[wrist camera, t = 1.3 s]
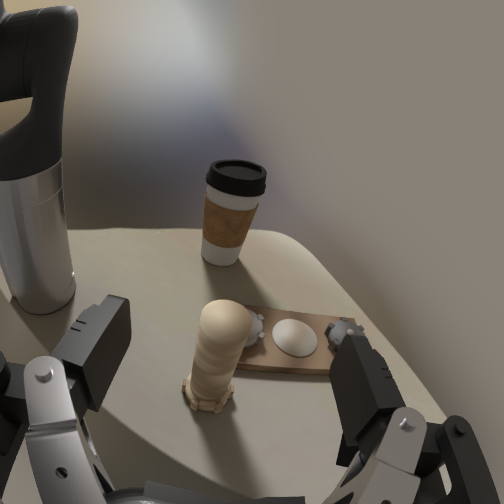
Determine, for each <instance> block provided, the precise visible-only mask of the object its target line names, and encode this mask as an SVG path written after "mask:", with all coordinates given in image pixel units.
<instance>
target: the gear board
mask: <svg viewBox="0 0 504 504" xmlns="http://www.w3.org/2000/svg"><path fill="white" fill-rule="evenodd" d="M240 305H242V306H243V307H245V308H246V309H247V310H248V312H249V313H250V315H251V317H252V327H251V330H250V332H249V335H248V338H247V340H246V343H245V345H244V348H243V351H242V353H241V356H240V358H239V361H238V363H237V366H236V368H237V369H246V370H256V371H267V372H280V373H297V374H324V375H329V371H330V366H331V363H332V361H333V359H334V357H335V355H336V353H337V350H338V348H339V346H340V344H341V342H342V340H343V338H344V336H345V335H360V336H365V334H364V332H363V330H364V328H363V327H362V326H361V325H360V326H357V325H356V322H355V319H354V318H345V317H335V316H326V315H317V314H308V313H300V312H292V311H285V310H277V309H270V308H263V307H256V306H250V305H244V304H240Z"/></svg>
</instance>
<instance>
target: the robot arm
mask: <svg viewBox="0 0 504 504" xmlns="http://www.w3.org/2000/svg"><path fill="white" fill-rule="evenodd" d="M77 31H78V15H77V12H76V10H75V9H74V8H73V7H71V6H56V7H49V8H41V9H35V10H29V11H24V12H19V13H14V14H9V13H7V12H6V11H5V8H4V4H3V0H0V102H5V101H10V100H16V99H22V98H28V97H33V100H32V105H31V110H30V112H29V114H28V115H27V116H26V117H25V118H24V119H23V120H22V121H21V122H19V123H18V124H17V125H16V126H14V127H13V128H11V129H9V130H8V131H6V132H4V133H3V134H1V135H0V264H1V267H2V270H3V273H4V276H5V279H6V282H7V284H8V287H9V290H10V292H11V295H12V296H13V297H16V298H17V300H18V302H19V304H20V306H21V307H22V308H23V309H24V310H26V311H28V312H30V313H33V314H47V313H51V312H54V311H56V310H59V309H60V308H62V307H63V306H65V305H66V304H67V303H68V302H69V301H70V299H71V298H72V296H73V294H74V292H75V287H76V284H75V277H74V272H73V267H72V261H71V255H70V249H69V242H68V235H67V228H66V219H65V209H64V197H63V181H62V122H63V108H64V99H65V92H66V85H67V80H68V75H69V70H70V65H71V61H72V56H73V52H74V47H75V43H76V37H77ZM130 341H131V319H130V303H129V300H128V299H126V298H122V297H118V296H114V295H110V294H109V295H107V296H106V298H105V299H104V300H103V302H102V303H101V304H100V306H98V305H95V304H94V305H92V306H91V307H89V308H87V309H86V310H84V311H83V312H82V313H81V314H80V316H79V317H78V318H77V319H76V322H74V323H73V325H72V326H71V328H70V329H69V330H68V331H67V332H66V334H65V335H64V336H63V338H62V339H61V340H60V342H59V343H58V344H57V346H56V347H55V348H54V350H53V351H52V353H51V354H50V355H49V356H40V357H36V358H34V359H33V360H31V361H30V362H29V363H28V364H27V365H21V364H15V363H9V362H6V360H5V357H4V355H3V353H2V352H1V351H0V504H3V502H2V500H1V499H2V496H3V492H4V489H5V486H6V483H7V480H8V477H9V474H10V472H11V469H12V466H13V464H14V461H15V459H16V456H17V454H18V451H19V449H20V446H21V444H22V441H23V439H24V437H25V438H26V445H27V449H28V454H29V458H30V462H31V466H32V470H33V474H34V477H35V481H36V484H37V487H38V490H39V494H40V496H41V499H42V502H43V504H305V496H301V497H265V498H260V499H254V500H248V501H242V502H234V503H223V502H220V501H216V500H214V499H211V498H208V497H205V496H202V495H199V494H197V493H194V492H191V491H189V490H186V489H183V488H178V487H172V486H168V485H164V484H159V483H155V482H151V481H146V484H145V487H132V488H123V489H119V490H115V489H114V487H113V485H112V483H111V481H110V479H109V477H108V475H107V473H106V471H105V470H104V468H103V466H102V464H101V461H100V459H99V456H98V454H97V452H96V449H95V447H94V444H93V441H92V438H91V436H90V433H89V430H88V427H87V424H86V421H85V418H84V415H85V413H86V411H87V409H90V410H93V411H96V412H98V411H99V408H100V406H101V404H102V402H103V399H104V397H105V395H106V393H107V391H108V389H109V386H110V384H111V382H112V380H113V378H114V376H115V374H116V372H117V370H118V367H119V365H120V363H121V361H122V359H123V357H124V355H125V353H126V351H127V349H128V347H129V344H130ZM388 369H389V368H388V366H387V364H386V362H385V360H384V358H383V357H382V356H381V355H380V354H379V353H378V352H377V351H376V350H375V349H372V347H371V345H370V343H369V341H368V339H367V337H366V336H360V335H345V336H344V338H343V340H342V342H341V344H340V346H339V348H338V350H337V353H336V355H335V357H334V359H333V361H332V363H331V366H330V371H329V376H330V381H331V385H332V389H333V393H334V397H335V400H336V404H337V408H338V412H339V417H340V421H341V425H342V429H343V433H344V437H345V442H346V446H357V445H358V447H359V451H358V452H357V453H356V455H355V457H354V458H353V460H352V462H351V464H350V465H349V467H348V469H347V470H346V472H345V474H344V475H343V477H342V479H341V480H340V482H339V483H338V485H337V487H336V488H335V490H334V491H333V492H332V493H331V495H330V496H329V497H328V498H327V499H326V500H325V501H324V502H323V503H322V504H500V501H499V498H498V494H497V491H496V488H495V485H494V482H493V480H492V477H491V474H490V471H489V469H488V466H487V463H486V461H485V458H484V456H483V453H482V451H481V449H480V446H479V444H478V442H477V439H476V437H475V434H474V432H473V430H472V428H471V426H470V424H469V423H468V422H467V420H465V419H464V418H462V417H460V416H456V415H454V416H450V417H449V418H447V420H446V421H445V422H444V423H443V424H436V423H429V422H426V421H425V419H424V417H423V416H422V414H421V413H420V412H418V411H417V410H415V409H413V408H410V407H406V405H405V403H404V400H403V398H402V396H401V394H400V392H399V389H398V387H397V385H396V383H395V381H394V378H392V374H391V372H390V370H388ZM29 426H30V430H28V428H29ZM444 464H446V467H447V471H448V474H449V477H450V480H451V484H452V488H451V491H450V493H449V494H448V495H446V491H445V488H444V484H443V481H442V478H441V474H440V471H439V468H440V467H441V466H442V465H444Z"/></svg>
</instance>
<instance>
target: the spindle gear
mask: <svg viewBox="0 0 504 504" xmlns="http://www.w3.org/2000/svg"><path fill="white" fill-rule="evenodd" d="M251 327H252V317H251V315H250V313H249V312H248V310H247V309H246V308H245V307H243V306H242V305H240V304H238V303H236V302H234V301H230V300H215V301H212V302H210V303H208V304H207V305H206V306H205V307H204V308H203V310H202V313H201V319H200V324H199V330H198V336H197V342H196V348H195V355H194V361H193V367H192V372H191V373H190V374H189V376H188V377H187V379H183V385H182V392H185V395H186V398H187V400H188V402H189V403H190V408H191V409H193V410H194V411H196V410H197V409H199V410H201V411H207V412H210V411H214V413H215V414H216V413H218V412H221V411H222V409H223V406H224V405H225V403H226V402H227V399H228V398H231V397H232V395H233V393H234V386H231V385H230V381H231V379H232V376H233V374H234V371H235V369H236V366H237V363H238V361H239V358H240V356H241V353H242V351H243V348H244V345H245V343H246V340H247V338H248V335H249V332H250V330H251Z"/></svg>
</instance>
